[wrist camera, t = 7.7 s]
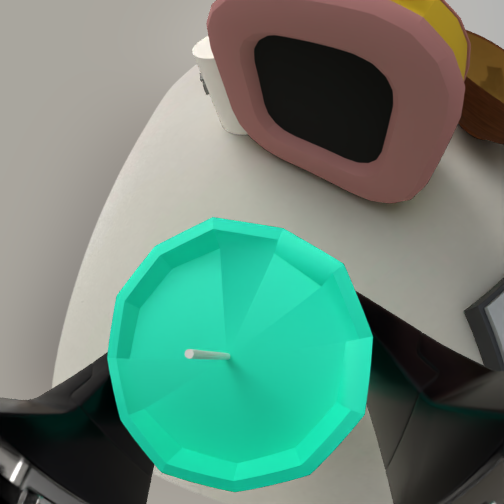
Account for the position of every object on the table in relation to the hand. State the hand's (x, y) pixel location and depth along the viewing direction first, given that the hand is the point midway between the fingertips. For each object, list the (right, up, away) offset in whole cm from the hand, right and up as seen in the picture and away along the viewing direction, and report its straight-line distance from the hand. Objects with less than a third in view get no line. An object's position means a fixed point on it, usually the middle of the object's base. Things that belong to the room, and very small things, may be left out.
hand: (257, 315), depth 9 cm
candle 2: (+1, -4, +6) cm, 7 cm away
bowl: (+28, +19, +16) cm, 37 cm away
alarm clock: (+9, +13, +18) cm, 24 cm away
